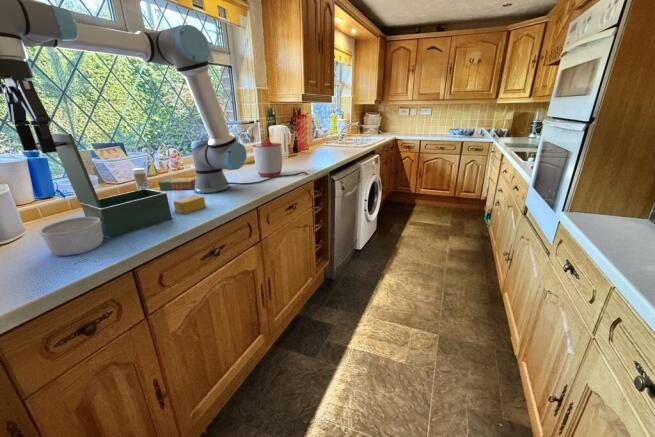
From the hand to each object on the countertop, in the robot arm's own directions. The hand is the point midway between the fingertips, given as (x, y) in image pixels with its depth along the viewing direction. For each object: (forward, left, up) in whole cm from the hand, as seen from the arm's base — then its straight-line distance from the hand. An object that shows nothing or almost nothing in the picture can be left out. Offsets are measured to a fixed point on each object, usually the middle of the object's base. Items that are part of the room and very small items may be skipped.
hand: (40, 151), depth 78 cm
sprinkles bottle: (-36, -27, -27) cm, 52 cm away
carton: (-56, -33, -27) cm, 70 cm away
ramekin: (0, +5, -27) cm, 27 cm away
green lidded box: (-17, 0, -26) cm, 31 cm away
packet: (-37, +3, -26) cm, 45 cm away
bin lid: (-6, 0, -6) cm, 9 cm away
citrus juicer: (-97, -12, -27) cm, 101 cm away
